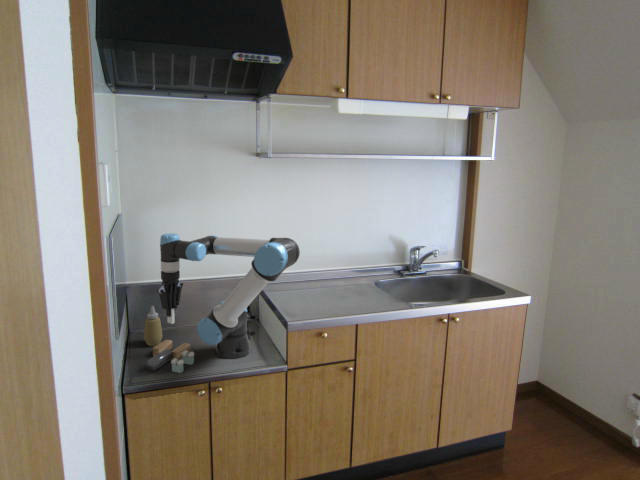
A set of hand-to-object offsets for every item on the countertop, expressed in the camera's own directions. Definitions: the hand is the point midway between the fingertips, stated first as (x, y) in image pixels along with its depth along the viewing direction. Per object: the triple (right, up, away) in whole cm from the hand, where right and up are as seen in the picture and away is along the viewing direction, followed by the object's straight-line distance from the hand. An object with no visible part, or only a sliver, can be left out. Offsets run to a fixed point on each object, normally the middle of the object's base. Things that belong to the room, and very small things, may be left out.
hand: (171, 322), depth 193 cm
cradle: (+8, -17, -9) cm, 21 cm away
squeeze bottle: (-12, -12, +11) cm, 20 cm away
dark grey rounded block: (-3, -16, -8) cm, 18 cm away
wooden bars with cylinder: (0, -14, +2) cm, 14 cm away
